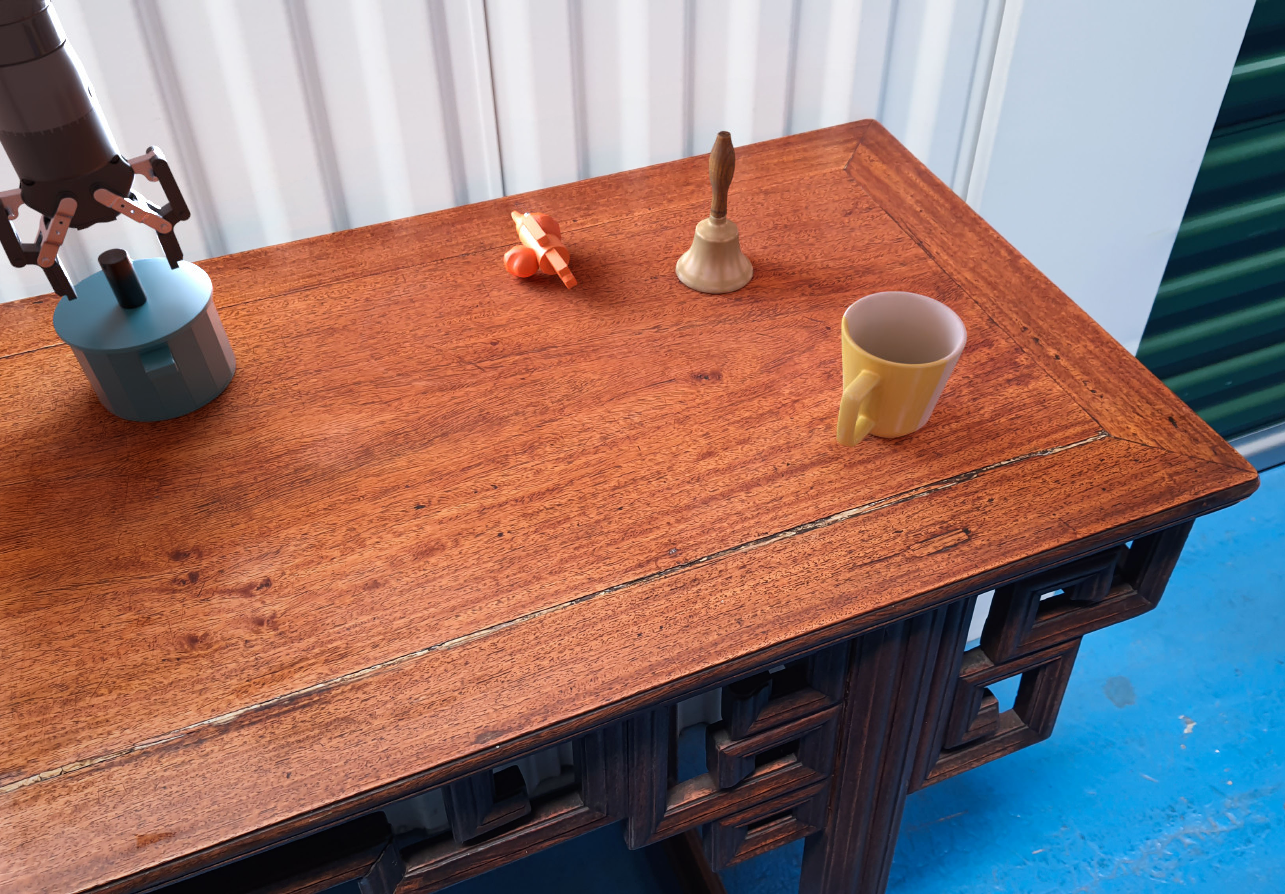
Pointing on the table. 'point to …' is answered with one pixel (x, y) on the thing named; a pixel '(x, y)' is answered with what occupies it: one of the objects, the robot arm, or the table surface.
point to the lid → (132, 304)
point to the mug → (895, 363)
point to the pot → (164, 373)
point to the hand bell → (716, 234)
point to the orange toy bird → (539, 248)
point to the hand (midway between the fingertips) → (123, 279)
